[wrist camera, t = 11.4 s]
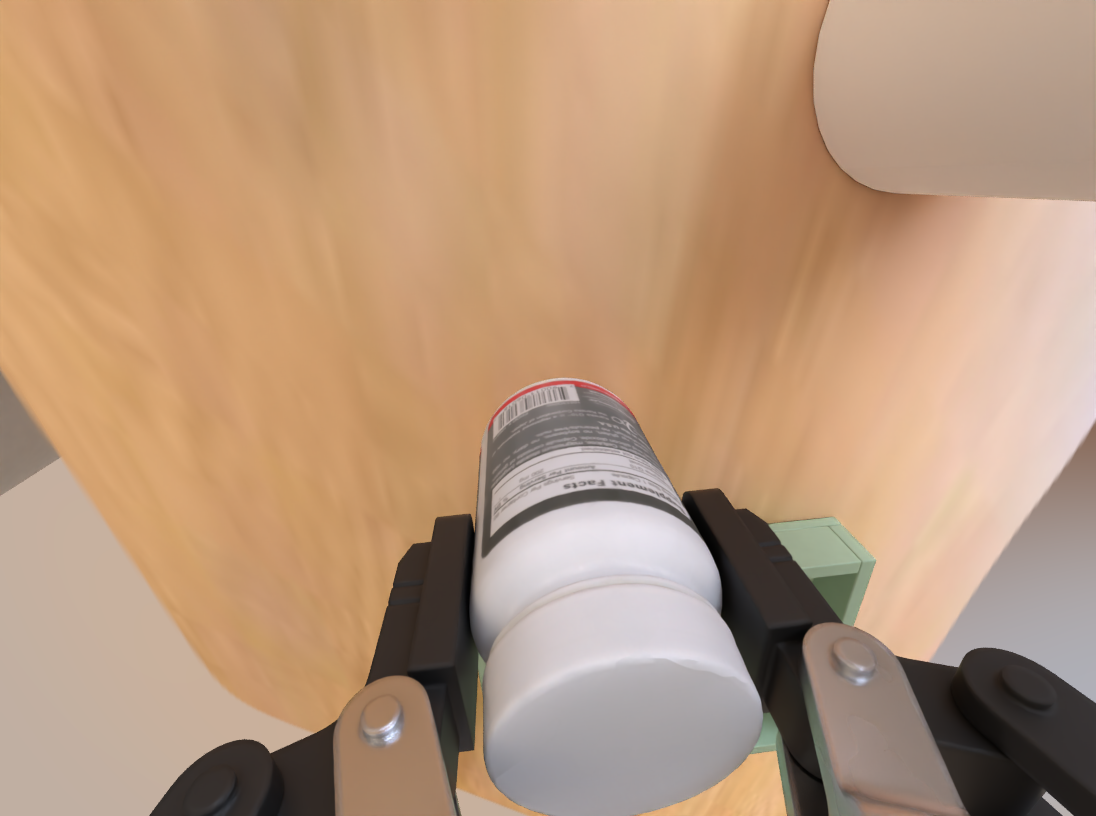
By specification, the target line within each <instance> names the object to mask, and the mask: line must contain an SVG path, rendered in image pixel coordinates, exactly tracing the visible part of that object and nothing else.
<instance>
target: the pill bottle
mask: <svg viewBox="0 0 1096 816" xmlns="http://www.w3.org/2000/svg"><path fill="white" fill-rule="evenodd" d="M721 610H722V585H721V579H720V575H719V571H718V569H717V566H716V564H715V562H714V560H713V557H712V555H711V553H710V551H709V549H708V547H707V545H706V543H705V542H704V540H703V538H702V536H701V535H700V533H699V531H698V529H697V527H696V526H695V524H694V522H693V520H692V519H691V517H690V515H689V513H688V512H687V510H686V508H685V506H684V505H683V503H682V501H681V499H680V497H679V496H678V494H677V492H676V490H675V489H674V487H673V485H672V483H671V481H670V479H669V477H668V476H667V474H666V472H665V471H664V469H663V467H662V465H661V464H660V462H659V460H658V459H657V457H656V455H655V453H654V451H653V450H652V448H651V446H650V444H649V442H648V441H647V439H646V437H645V435H644V433H643V431H642V430H641V428H640V426H639V424H638V422H637V420H636V418H635V416H634V415H633V413H632V412H631V411H630V409H629V408H628V407H627V406H626V404H625V403H624V402H623V401H622V400H621V399H620V398H618V397H617V396H616V395H615V394H613V393H612V392H610V391H609V390H607V389H605V388H604V387H602V386H600V385H598V384H595V383H592V382H589V381H586V380H582V379H576V378H554V379H548V380H543V381H540V382H536V383H533V384H531V385H528V386H526V387H524V388H522V389H520V390H519V391H517V392H516V393H514V394H513V395H511V396H510V397H509V398H507V399H506V400H505V401H504V402H503V403H502V404H501V405H500V407H499V408H498V409H497V410H496V411H495V413H494V414H493V416H492V417H491V419H490V421H489V422H488V424H487V426H486V429H485V431H484V434H483V438H482V443H481V452H480V461H479V480H478V493H477V508H476V520H475V534H474V547H473V559H472V570H471V582H470V595H469V614H470V627H471V633H472V636H473V639H474V642H475V645H476V647H477V650H478V652H479V654H480V656H481V657H482V659H483V661H484V662H485V663H486V667H485V670H484V675H483V682H482V690H483V753H484V761H485V765H486V769H487V772H488V774H489V777H490V779H491V781H492V782H493V783H494V785H495V786H496V787H497V789H498V790H499V791H500V792H502V793H503V794H504V795H505V796H506V797H507V798H508V799H510V800H511V801H513V802H515V803H516V804H518V805H520V806H523V807H525V808H527V809H529V810H532V811H534V812H538V813H542V814H545V815H549V816H632V815H638V814H642V813H647V812H651V811H655V810H658V809H661V808H665V807H668V806H670V805H673V804H676V803H679V802H682V801H685V800H687V799H689V798H691V797H694V796H696V795H698V794H700V793H702V792H703V791H705V790H707V789H709V788H711V787H713V786H714V785H716V784H717V783H719V782H720V781H722V780H723V779H725V778H726V777H727V776H728V775H730V774H731V773H732V772H733V771H734V770H735V769H737V768H738V767H739V766H740V765H741V764H742V763H743V762H744V760H745V759H746V758H747V757H748V755H749V754H750V753H751V751H752V750H753V748H754V747H755V745H756V743H757V742H758V739H759V737H760V733H761V730H762V723H763V711H762V704H761V700H760V697H759V694H758V692H757V690H756V687H755V685H754V683H753V681H752V679H751V677H750V675H749V673H748V671H747V668H746V666H745V664H744V661H743V659H742V656H741V654H740V652H739V650H738V648H737V646H736V643H735V640H734V637H733V635H732V633H731V630H730V629H729V627H728V626H727V624H726V623H725V621H724V620H723V619H722V618H721Z"/></svg>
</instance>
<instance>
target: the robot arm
mask: <svg viewBox="0 0 1096 816" xmlns="http://www.w3.org/2000/svg"><path fill="white" fill-rule="evenodd" d="M682 503H683V505H684V506H685V508H686V510H687V512H688V513H689V515H690V517H691V519H692V520H693V522H694V524H695V526H696V527H697V529H698V531H699V533H700V535H701V536H702V538H703V540H704V542H705V543H706V545H707V547H708V549H709V551H710V553H711V555H712V557H713V560H714V562H715V564H716V566H717V569H718V571H719V575H720V579H721V585H722V610H721V618H722V619H723V620H724V621H725V623H726V624H727V626H728V627H729V629H730V630H731V633H732V635H733V637H734V640H735V643H736V646H737V648H738V650H739V652H740V654H741V656H742V659H743V661H744V664H745V666H746V668H747V671H748V673H749V675H750V677H751V679H752V681H753V683H754V685H755V687H756V690H757V692H758V694H759V697H760V700H761V704H762V711H763V713H769V712H770V714H771V716H772V718H773V720H774V722H775V724H776V726H777V728H778V732H777V736H776V751H777V757H778V763H779V769H780V775H781V781H782V787H783V794H784V800H785V806H786V812H787V816H1062V815H1061V814H1060V813H1059V812H1058V811H1057V810H1055V809H1054V808H1053V807H1052V806H1051V805H1050V804H1049V803H1048V802H1047V801H1045V800H1044V799H1043V798H1042V796H1043V795H1044V794H1045V792H1046V791H1047V792H1048V793H1049V794H1050V795H1051V796H1052V797H1054V798H1055V799H1056V800H1057V801H1058V802H1059V803H1060V804H1062V805H1063V806H1064V807H1065V808H1066V809H1067V810H1068V811H1069V812H1070V813H1071V814H1073V815H1074V816H1096V703H1095V702H1093V701H1092V700H1090V699H1089V698H1087V697H1086V696H1085V695H1083V694H1082V693H1081V692H1079V691H1078V690H1076V689H1075V688H1073V687H1072V686H1071V685H1069V684H1068V683H1066V682H1065V681H1064V680H1062V679H1061V678H1059V677H1058V676H1057V675H1055V674H1054V673H1052V672H1050V671H1049V670H1047V669H1046V668H1044V667H1043V666H1041V665H1039V664H1037V663H1036V662H1034V661H1032V660H1030V659H1027V658H1025V657H1023V656H1021V655H1018V654H1015V653H1013V652H1009V651H1005V650H1002V649H996V648H977V649H974V650H971V651H970V652H968V653H967V654H966V655H965V657H964V658H963V660H962V662H961V664H960V666H959V667H953V666H946V665H941V664H935V663H930V662H924V661H918V660H912V659H907V658H903V657H898V656H895V655H894V654H893V653H892V652H891V651H890V650H889V649H888V648H887V647H886V646H885V645H884V644H883V643H882V642H880V641H879V640H878V639H876V638H875V637H873V636H872V635H870V634H868V633H866V632H865V631H863V630H860V629H858V628H856V627H853V626H850V625H846V624H844V623H843V622H842V621H841V620H840V618H839V617H838V616H837V615H836V613H835V612H834V611H833V609H832V608H831V607H830V605H829V604H828V603H827V601H826V600H825V599H824V597H823V596H822V595H821V593H820V592H819V591H818V590H817V588H816V587H815V586H814V584H813V583H812V582H811V580H810V579H809V578H808V576H807V575H806V574H805V572H804V571H803V570H802V569H801V567H800V566H799V565H798V563H797V562H796V561H793V559H792V555H791V554H790V553H789V551H788V550H787V549H786V547H785V546H784V545H781V541H780V540H779V538H778V537H777V536H776V534H775V533H774V532H773V530H772V529H771V528H770V526H769V525H768V524H767V523H766V522H765V521H763V520H762V519H760V518H759V517H757V516H756V515H755V514H753V513H752V512H750V511H749V510H747V509H737V510H735V509H734V508H733V506H732V505H731V503H730V502H729V500H728V499H727V498H726V496H725V495H724V493H723V492H722V491H721V490H720V489H718V488H715V489H706V490H696V491H686V492H685V493H684V494H683V497H682ZM474 534H475V533H474V527H473V522H472V517H471V514H463V515H453V516H444V517H437V518H436V520H435V525H434V530H433V535H432V540H431V542H426V543H417V544H413V545H412V546H411V547H410V549H409V550H408V551H407V552H406V554H405V555H404V556H403V558H402V559H401V560H400V562H399V563H398V567H397V571H396V574H395V578H394V582H393V588H392V590H391V593H390V597H389V601H388V606H387V608H386V612H385V616H384V620H383V624H382V627H381V631H380V635H379V639H378V642H377V646H376V650H375V654H374V658H373V661H372V665H371V669H370V673H369V676H368V679H367V682H366V685H365V687H364V688H363V689H361V690H360V691H359V692H358V693H357V694H355V695H354V697H353V698H352V699H351V700H350V701H349V702H348V703H347V705H346V706H345V708H344V709H343V711H342V712H341V714H340V716H339V718H338V720H336V721H335V722H334V723H332V724H331V725H329V726H328V727H326V728H324V729H323V730H321V731H319V732H317V733H315V734H312V735H310V736H308V737H306V738H304V739H301V740H299V741H297V742H295V743H293V744H291V745H289V746H286V747H284V748H282V749H279V750H277V751H275V752H273V753H269V751H268V750H267V748H266V747H265V746H264V745H263V744H261V743H259V742H257V741H254V740H245V739H244V740H236V741H232V742H229V743H226V744H224V745H222V746H219V747H217V748H215V749H213V750H212V751H210V752H208V753H206V754H205V755H204V756H202V757H201V758H199V759H198V760H197V761H195V762H194V763H193V764H192V765H191V766H190V767H189V768H187V769H186V770H185V771H184V772H183V774H181V775H180V776H179V777H178V779H177V780H176V781H175V782H174V784H173V785H172V786H171V787H170V789H169V790H168V791H167V793H166V794H165V795H164V797H163V798H162V800H161V801H160V802H159V803H158V805H157V806H156V807H155V809H154V810H153V811H152V813H151V814H150V816H461V812H460V808H459V803H458V799H457V795H456V782H457V768H458V755H459V752H464V751H471V750H474V743H475V722H476V700H477V679H478V658H479V652H478V650H477V647H476V645H475V642H474V639H473V636H472V633H471V627H470V614H469V595H470V582H471V570H472V559H473V547H474Z"/></svg>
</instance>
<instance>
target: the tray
mask: <svg viewBox="0 0 1096 816" xmlns="http://www.w3.org/2000/svg"><path fill="white" fill-rule="evenodd" d="M768 525H769V526H770V528H771V529H772V530H773V532H774V533H775V534H776V536H777V537H778V538H779V540H780V541H781V545H784V546H785V547H786V549H787V550H788V551H789V553H790V554H791V555H792V559H793V561H796V562H797V563H798V565H799V566H800V567H801V569H802V570H803V571H804V572H805V574H806V575H807V576H808V578H809V579H810V580H811V582H812V583H813V584H814V586H815V587H816V588H817V590H818V591H819V592H820V593H821V595H822V596H823V597H824V599H825V600H826V601H827V603H828V604H829V605H830V607H831V608H832V609H833V611H834V612H835V613H836V615H837V616H838V617H839V618H840V620H841V621H842V622H843V623H844V624H846V625H850V626H853V625H854V623H855V620H856V617H857V614H858V611H859V608H860V605H861V603H862V600H863V597H864V594H865V591H866V588H867V585H868V583H869V580H870V577H871V574H872V571H873V568H874V565H875V563H876V559H875V558H874V557H873V556H872V555H871V554H870V553H869V552H868V551H867V550H866V549H865V548H864V547H863V546H862V545H861V544H860V543H859V542H858V541H857V540H856V539H855V538H854V537H853V536H852V535H851V534H850V533H849V532H848V531H847V530H846V528H845V527H844V526H842V525H841V523H840V522H839V521H838V520H837V519H836V518H835V517H827V518H818V519H809V520H800V521H790V522H781V523H772V524H768ZM485 667H486V663H485V662H484V661H483V659H482V657H481V656H480V654H479V658H478V672H479V678H480V683H481V688H482V682H483V675H484V670H485ZM482 693H483V690H482ZM777 732H778V728H777V726H776V724H775V722H774V720H773V718H772V716H771V714H770V712H769V713H763V723H762V730H761V733H760V737H759V739H758V742H757V743H756V745H755V747H754V748H753V750H752V751H751V753H750V754H755V753H762V752H769V751H776V736H777Z"/></svg>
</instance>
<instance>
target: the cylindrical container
mask: <svg viewBox="0 0 1096 816" xmlns="http://www.w3.org/2000/svg"><path fill="white" fill-rule="evenodd" d="M814 105H815V110H816V116H817V121H818V126H819V130H820V132H821V135H822V137H823V139H824V142H825V144H826V147H827V149H828V151H829V153H830V154H831V155H832V157H833V158H834V160H835V161H836V162H837V164H838V165H839V167H840V168H841V169H842V170H843V171H845V172H846V173H847V174H848V175H849V176H851V177H852V178H853V179H854V180H855V181H857V182H859V183H861V184H863V185H865V186H868V187H870V188H872V189H874V190H879V191H885V192H890V193H898V194H923V195H948V196H973V197H998V198H1023V199H1049V200H1074V201H1096V0H830V2H829V5H828V8H827V11H826V14H825V17H824V21H823V24H822V27H821V30H820V33H819V39H818V45H817V51H816V57H815V63H814Z"/></svg>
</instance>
